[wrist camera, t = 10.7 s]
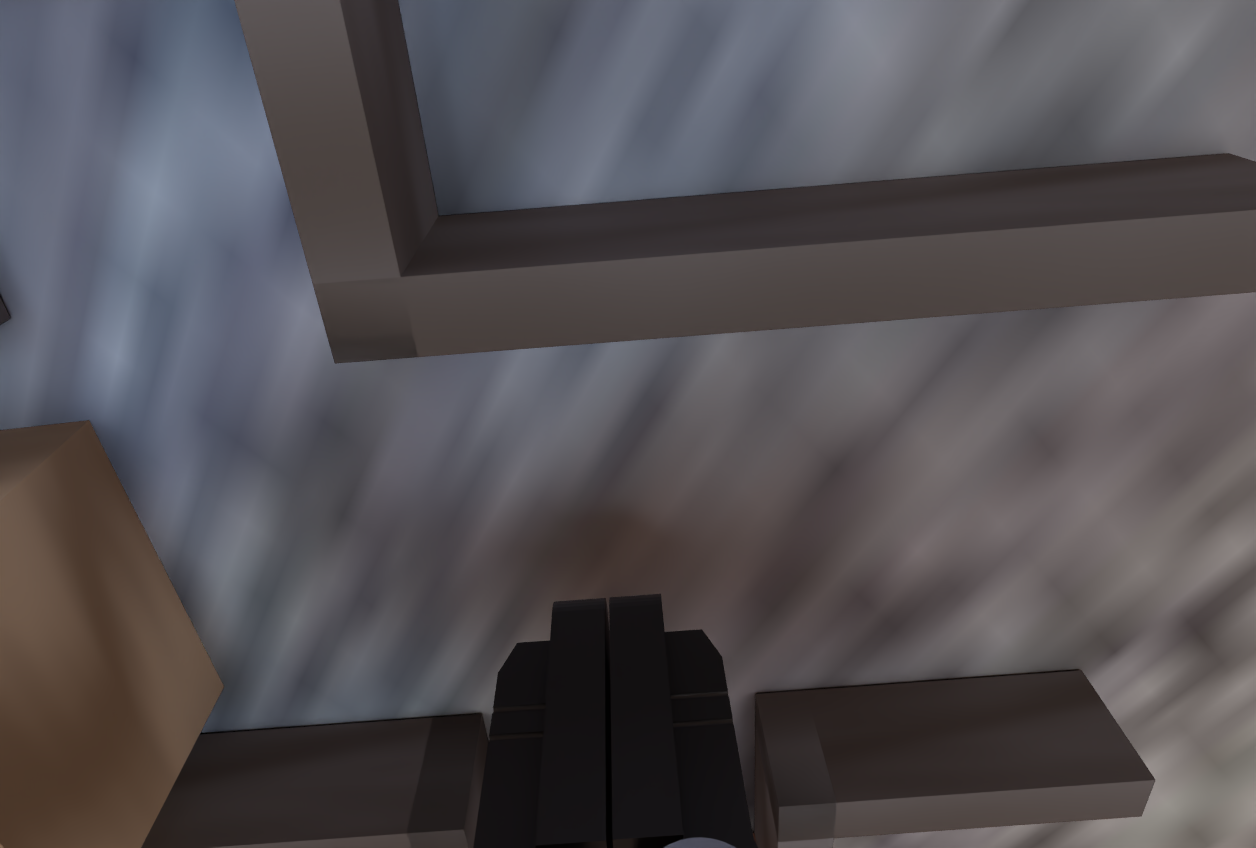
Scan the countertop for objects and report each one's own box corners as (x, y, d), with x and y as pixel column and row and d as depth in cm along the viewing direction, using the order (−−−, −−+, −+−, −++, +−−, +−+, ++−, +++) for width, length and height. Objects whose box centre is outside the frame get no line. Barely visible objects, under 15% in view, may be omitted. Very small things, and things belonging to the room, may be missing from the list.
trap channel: (-854, -78, 9) (-2115, -106, 5) (1347, -263, 9) (2030, -464, 5) (-30, 914, 19) (-213, 1193, 15) (1033, 839, 19) (1160, 1099, 15)
